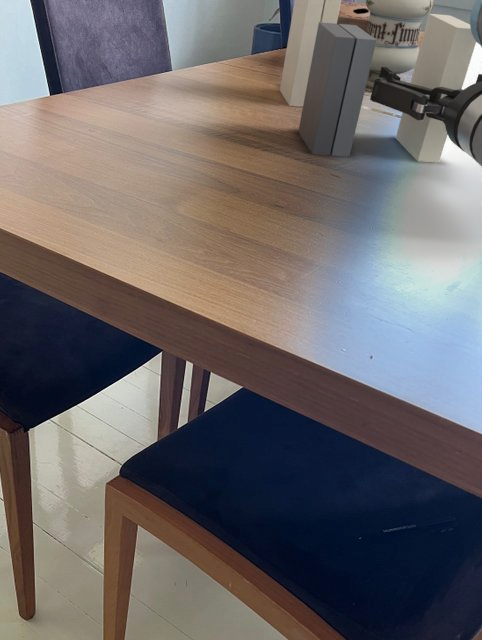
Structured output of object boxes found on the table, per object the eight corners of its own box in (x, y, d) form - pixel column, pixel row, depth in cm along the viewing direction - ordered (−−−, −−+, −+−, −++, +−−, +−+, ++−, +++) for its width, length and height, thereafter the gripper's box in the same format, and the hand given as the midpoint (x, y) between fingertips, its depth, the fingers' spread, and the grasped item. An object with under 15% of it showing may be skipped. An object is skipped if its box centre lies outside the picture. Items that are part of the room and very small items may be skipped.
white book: (413, 145, 110) (450, 15, 99) (437, 169, 101) (480, 29, 90) (393, 144, 109) (428, 13, 99) (415, 167, 101) (456, 27, 90)
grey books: (331, 139, 109) (356, 25, 100) (348, 163, 100) (376, 39, 91) (297, 137, 109) (318, 22, 99) (310, 160, 100) (335, 36, 91)
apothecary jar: (335, 80, 142) (358, -29, 131) (386, 79, 146) (412, -27, 135) (372, 96, 134) (400, -20, 122) (424, 95, 138) (456, -18, 126)
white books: (307, 92, 132) (328, -18, 122) (319, 108, 124) (343, -10, 113) (279, 90, 132) (298, -21, 122) (289, 106, 124) (310, -12, 113)
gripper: (374, 150, 86) (334, 104, 102) (579, 163, 87) (507, 116, 104) (391, 80, 81) (347, 44, 98) (608, 95, 82) (528, 57, 99)
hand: (429, 81), depth 101 cm, fingers open, 13 cm apart
